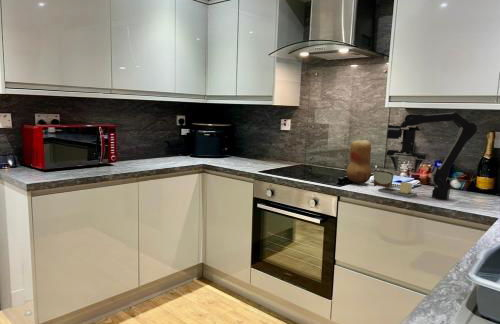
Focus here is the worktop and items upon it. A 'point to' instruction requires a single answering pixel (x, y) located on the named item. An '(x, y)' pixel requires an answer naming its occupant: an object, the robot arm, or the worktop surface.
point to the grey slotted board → (396, 192)
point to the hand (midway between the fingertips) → (405, 171)
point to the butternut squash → (359, 162)
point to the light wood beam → (405, 188)
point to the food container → (383, 177)
